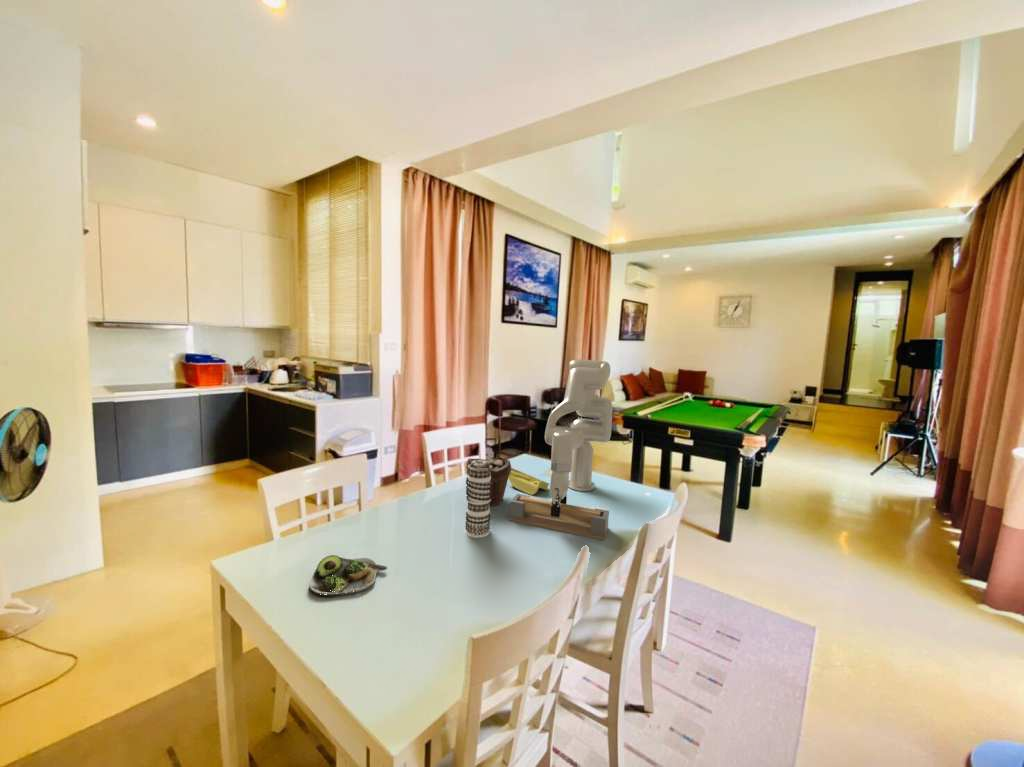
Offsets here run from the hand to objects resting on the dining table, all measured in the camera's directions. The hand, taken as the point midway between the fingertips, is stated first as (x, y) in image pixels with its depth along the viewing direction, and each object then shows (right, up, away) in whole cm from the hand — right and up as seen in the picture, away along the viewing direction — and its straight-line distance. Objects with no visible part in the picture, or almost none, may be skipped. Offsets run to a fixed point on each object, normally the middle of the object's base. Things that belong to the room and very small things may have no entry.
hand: (558, 511), depth 153 cm
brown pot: (-27, -2, +20) cm, 34 cm away
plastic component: (-10, -1, +37) cm, 38 cm away
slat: (0, -3, 0) cm, 3 cm away
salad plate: (-64, -8, -37) cm, 74 cm away
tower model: (-29, -5, -8) cm, 30 cm away
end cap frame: (0, -5, +1) cm, 5 cm away
